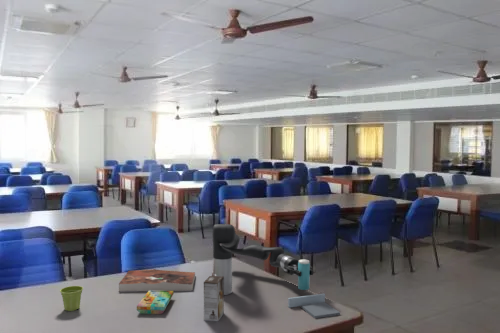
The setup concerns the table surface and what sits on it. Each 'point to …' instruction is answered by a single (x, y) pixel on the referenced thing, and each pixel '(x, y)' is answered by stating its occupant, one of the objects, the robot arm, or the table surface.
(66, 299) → the plant pot
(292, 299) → the wall
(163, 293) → the puzzle game
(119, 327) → the table surface
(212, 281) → the coffee box
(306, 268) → the jar
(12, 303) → the table surface
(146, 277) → the board game box
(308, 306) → the mat
